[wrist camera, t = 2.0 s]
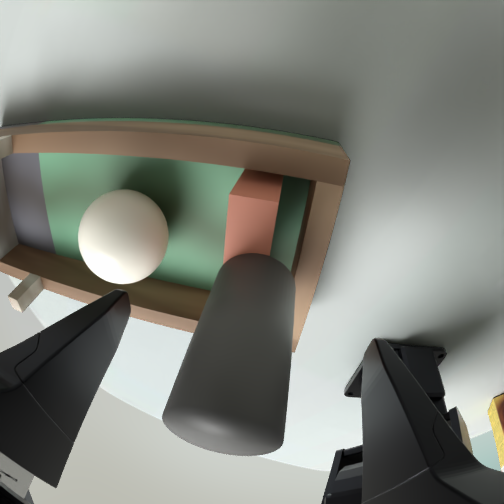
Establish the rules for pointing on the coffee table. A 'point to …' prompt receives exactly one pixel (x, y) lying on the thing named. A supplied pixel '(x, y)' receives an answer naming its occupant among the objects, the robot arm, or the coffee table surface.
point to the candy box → (498, 425)
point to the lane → (159, 205)
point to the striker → (240, 336)
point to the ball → (123, 236)
